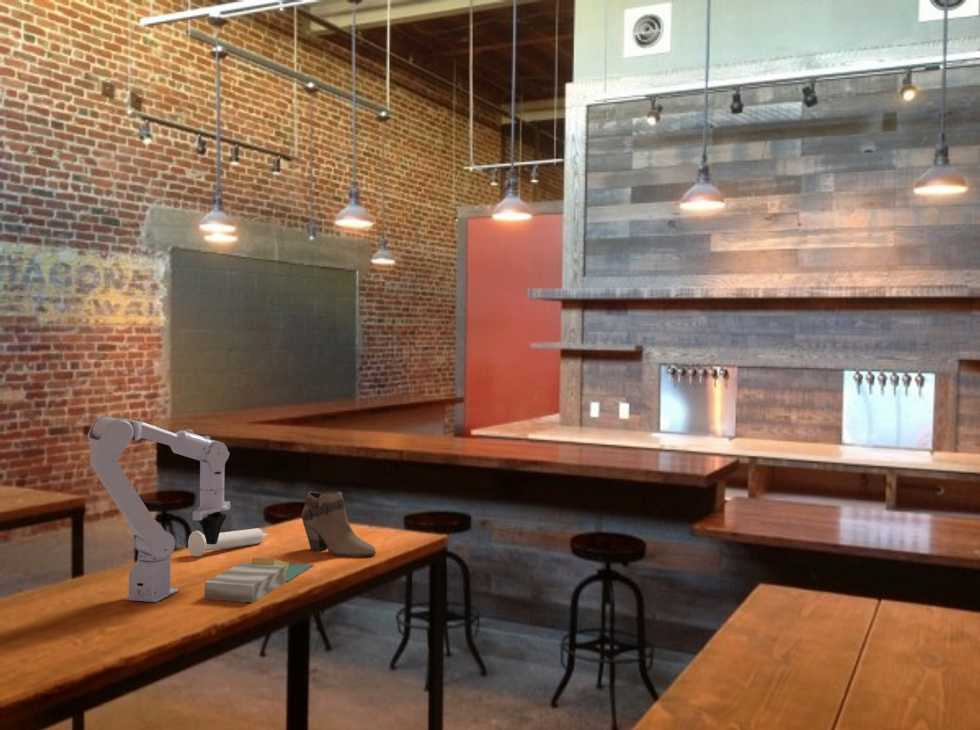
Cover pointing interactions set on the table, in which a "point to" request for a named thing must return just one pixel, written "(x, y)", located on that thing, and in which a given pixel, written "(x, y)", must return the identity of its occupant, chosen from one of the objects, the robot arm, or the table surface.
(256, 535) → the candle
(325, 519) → the boot
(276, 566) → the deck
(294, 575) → the mat
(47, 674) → the table surface
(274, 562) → the yellow rectangular block
